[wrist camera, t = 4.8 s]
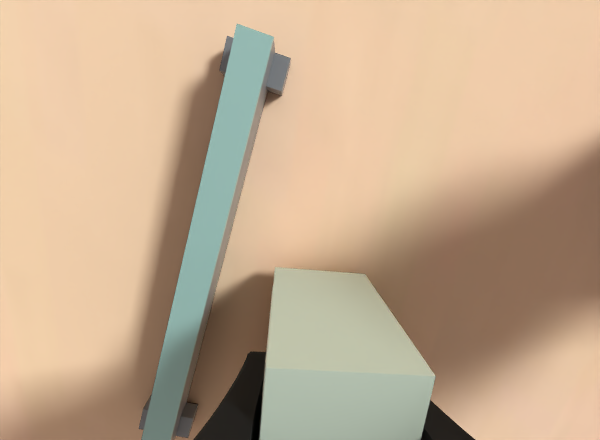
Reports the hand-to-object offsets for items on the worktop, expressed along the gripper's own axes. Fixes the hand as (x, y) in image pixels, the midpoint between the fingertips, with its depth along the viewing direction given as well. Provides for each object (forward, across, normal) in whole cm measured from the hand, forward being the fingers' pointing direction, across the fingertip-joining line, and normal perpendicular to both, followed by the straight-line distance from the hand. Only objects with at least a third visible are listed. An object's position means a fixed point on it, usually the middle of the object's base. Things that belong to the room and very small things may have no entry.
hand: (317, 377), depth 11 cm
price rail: (+3, +5, -3) cm, 7 cm away
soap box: (+2, 0, 0) cm, 2 cm away
